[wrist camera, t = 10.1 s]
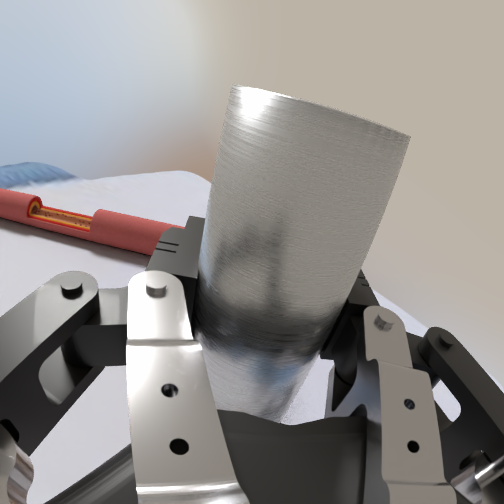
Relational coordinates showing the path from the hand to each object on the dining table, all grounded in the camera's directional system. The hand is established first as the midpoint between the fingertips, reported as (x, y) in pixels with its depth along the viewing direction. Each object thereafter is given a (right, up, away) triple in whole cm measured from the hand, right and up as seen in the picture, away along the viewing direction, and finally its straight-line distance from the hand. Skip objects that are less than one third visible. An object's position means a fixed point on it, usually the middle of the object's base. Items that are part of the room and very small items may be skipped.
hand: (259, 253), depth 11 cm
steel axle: (-2, -9, +2) cm, 9 cm away
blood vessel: (-31, +3, +34) cm, 46 cm away
